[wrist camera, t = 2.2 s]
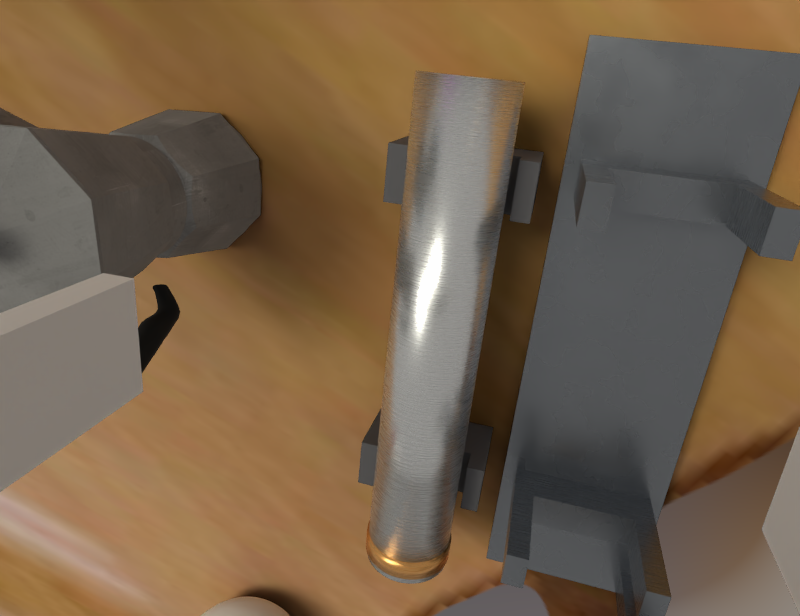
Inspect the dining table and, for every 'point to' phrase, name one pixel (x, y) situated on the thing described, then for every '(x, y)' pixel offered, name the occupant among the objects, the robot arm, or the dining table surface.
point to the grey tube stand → (637, 301)
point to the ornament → (246, 608)
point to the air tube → (438, 312)
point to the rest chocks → (519, 210)
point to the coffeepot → (119, 204)
